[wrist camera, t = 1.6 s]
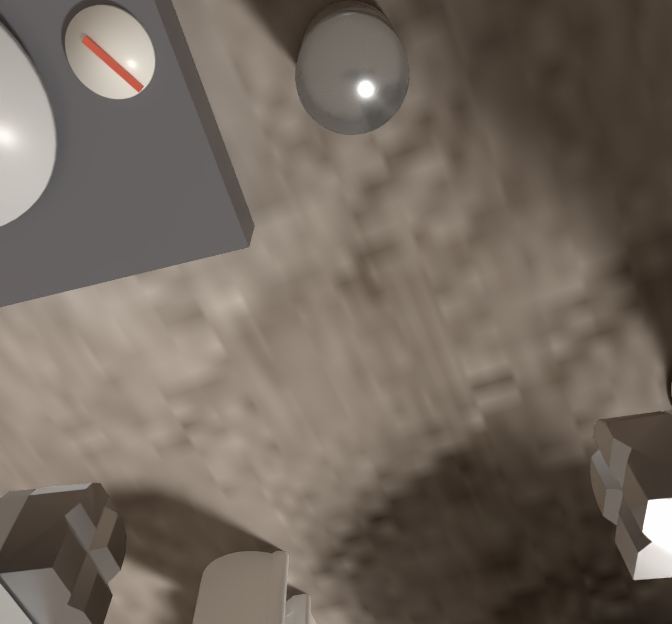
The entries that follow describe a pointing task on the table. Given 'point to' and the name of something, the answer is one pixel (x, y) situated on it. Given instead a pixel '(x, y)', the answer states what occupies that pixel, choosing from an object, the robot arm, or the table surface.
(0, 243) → the scale
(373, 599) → the table surface
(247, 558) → the c-shaped pipe clip
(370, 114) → the cylinder
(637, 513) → the robot arm
